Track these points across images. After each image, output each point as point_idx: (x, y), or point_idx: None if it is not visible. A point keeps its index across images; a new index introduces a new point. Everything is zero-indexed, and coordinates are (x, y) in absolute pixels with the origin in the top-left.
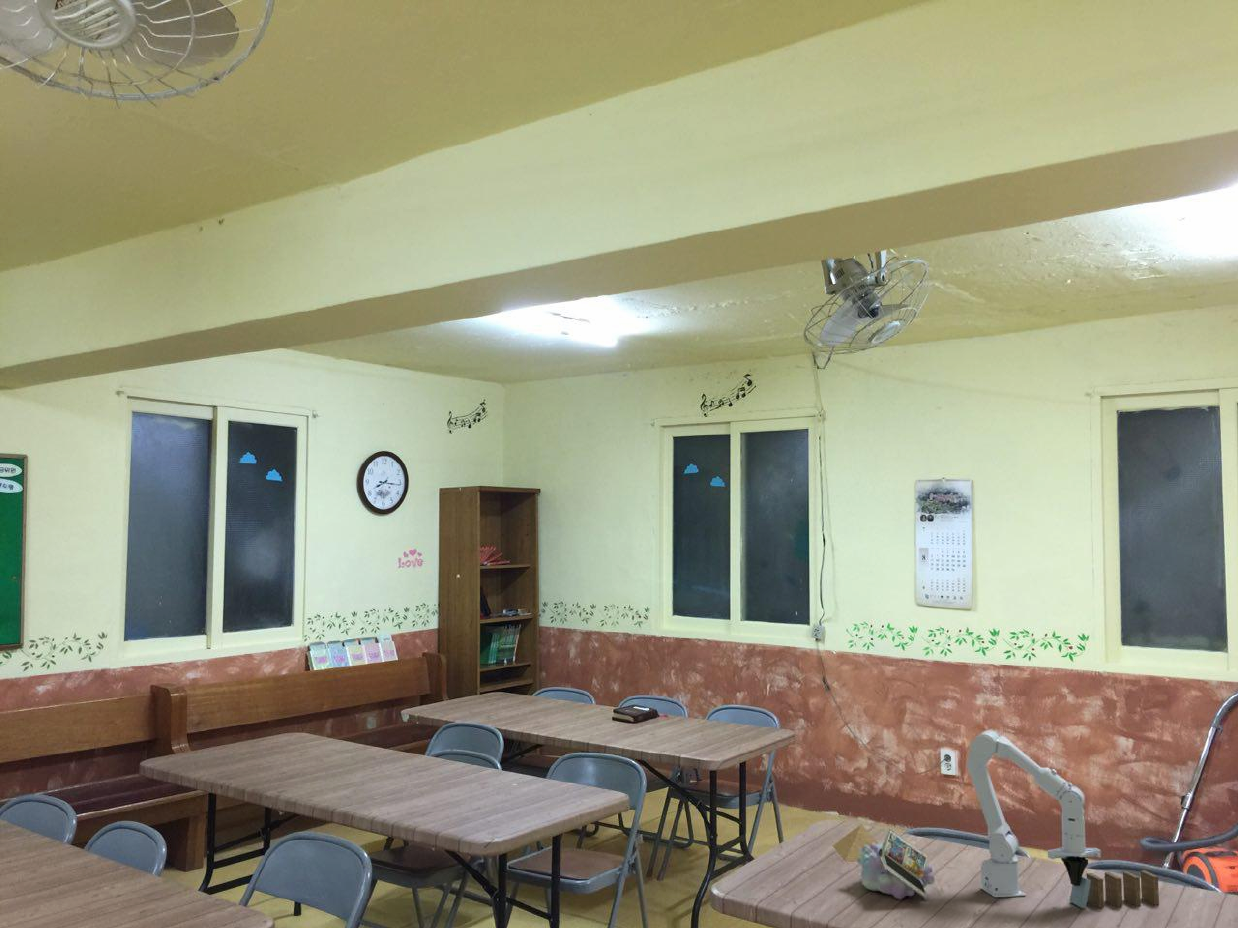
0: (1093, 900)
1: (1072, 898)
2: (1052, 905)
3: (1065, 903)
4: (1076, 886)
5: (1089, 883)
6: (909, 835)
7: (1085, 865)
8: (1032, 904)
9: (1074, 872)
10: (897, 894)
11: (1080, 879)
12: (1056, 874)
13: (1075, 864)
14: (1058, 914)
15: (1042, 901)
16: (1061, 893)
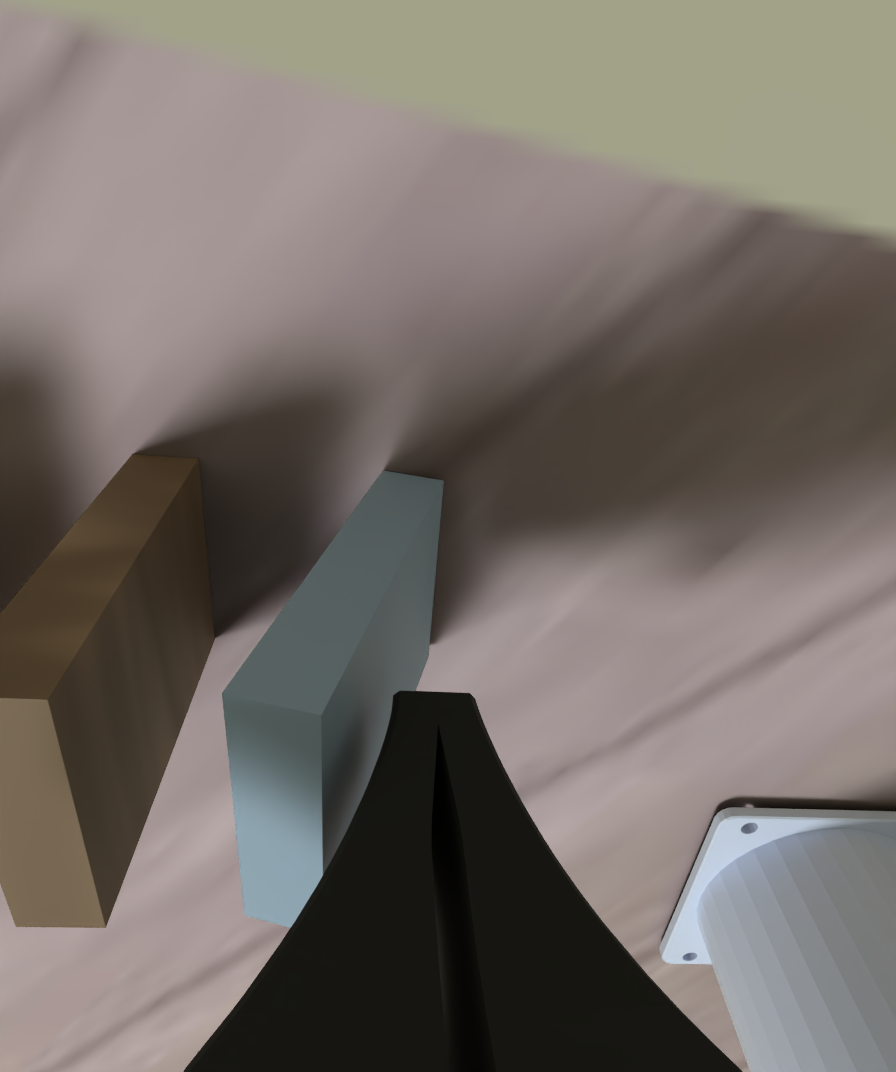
0: (195, 574)
1: (419, 648)
2: (672, 605)
3: (496, 625)
4: (378, 732)
5: (269, 655)
6: None
7: (284, 1016)
8: (837, 656)
9: (556, 869)
10: None
11: (398, 752)
12: (133, 1053)
13: (637, 1061)
14: (847, 378)
15: (677, 698)
16: None
